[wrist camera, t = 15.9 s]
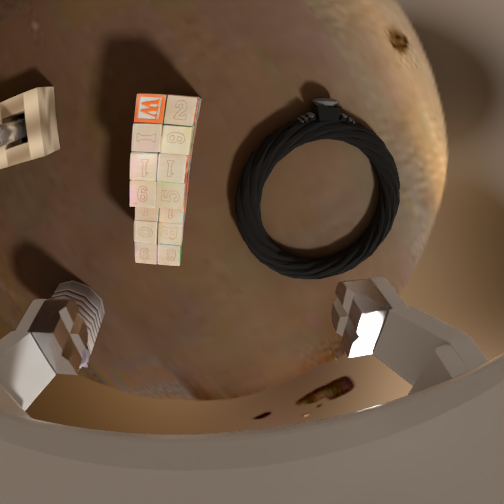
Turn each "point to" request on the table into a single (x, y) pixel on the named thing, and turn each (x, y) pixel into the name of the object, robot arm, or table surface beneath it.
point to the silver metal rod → (12, 131)
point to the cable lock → (279, 145)
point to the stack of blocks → (161, 174)
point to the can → (84, 311)
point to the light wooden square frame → (30, 126)
